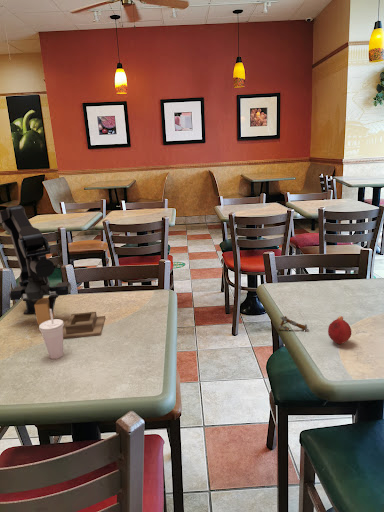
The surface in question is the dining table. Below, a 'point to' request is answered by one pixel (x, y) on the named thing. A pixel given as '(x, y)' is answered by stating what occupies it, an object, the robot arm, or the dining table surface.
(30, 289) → the robot arm
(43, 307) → the tan rectangular block
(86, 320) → the chassis
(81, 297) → the dining table surface
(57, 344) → the smoothie
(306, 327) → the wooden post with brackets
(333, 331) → the onion
